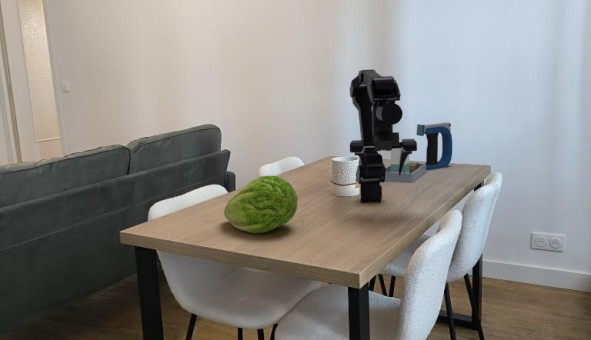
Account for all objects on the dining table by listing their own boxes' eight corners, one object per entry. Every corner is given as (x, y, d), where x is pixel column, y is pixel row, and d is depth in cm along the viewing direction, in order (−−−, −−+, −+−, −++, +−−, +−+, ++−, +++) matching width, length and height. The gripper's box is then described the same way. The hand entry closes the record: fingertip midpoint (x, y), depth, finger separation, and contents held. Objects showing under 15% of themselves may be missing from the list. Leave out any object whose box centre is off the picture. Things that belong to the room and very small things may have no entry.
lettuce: (213, 243, 143) (252, 232, 155) (276, 230, 127) (314, 220, 139) (201, 191, 144) (241, 185, 156) (263, 173, 128) (302, 167, 141)
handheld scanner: (415, 170, 209) (415, 124, 205) (445, 166, 215) (446, 120, 211) (422, 172, 205) (422, 125, 201) (452, 167, 211) (453, 121, 207)
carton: (405, 180, 190) (404, 148, 188) (390, 179, 193) (390, 148, 190) (409, 177, 195) (409, 146, 193) (395, 176, 198) (394, 145, 195)
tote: (412, 184, 185) (412, 173, 184) (378, 182, 191) (378, 171, 191) (426, 173, 202) (426, 163, 202) (394, 171, 209) (394, 162, 208)
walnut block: (414, 175, 197) (414, 165, 196) (394, 174, 201) (394, 164, 200) (419, 172, 202) (418, 162, 201) (399, 171, 206) (399, 161, 205)
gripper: (348, 125, 137) (349, 181, 140) (418, 123, 134) (418, 180, 137) (349, 121, 148) (351, 173, 151) (415, 119, 145) (415, 172, 148)
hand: (383, 175), depth 147 cm, fingers open, 9 cm apart
